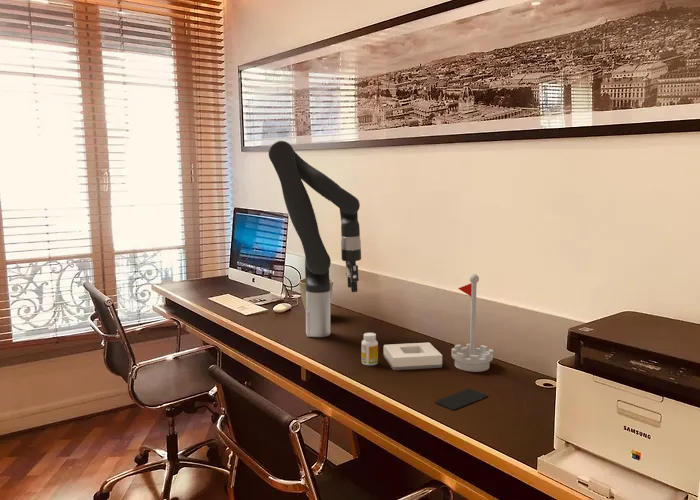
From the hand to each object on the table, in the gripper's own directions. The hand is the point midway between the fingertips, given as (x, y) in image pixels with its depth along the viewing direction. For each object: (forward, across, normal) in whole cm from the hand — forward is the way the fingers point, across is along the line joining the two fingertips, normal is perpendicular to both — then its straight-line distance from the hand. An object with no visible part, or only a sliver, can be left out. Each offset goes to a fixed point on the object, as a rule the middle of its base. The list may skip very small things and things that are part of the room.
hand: (352, 289), depth 218 cm
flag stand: (+18, +44, +31) cm, 57 cm away
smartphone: (+18, +70, +18) cm, 74 cm away
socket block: (+18, +36, +13) cm, 43 cm away
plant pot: (+17, -28, -12) cm, 35 cm away
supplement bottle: (+17, +36, -1) cm, 40 cm away
